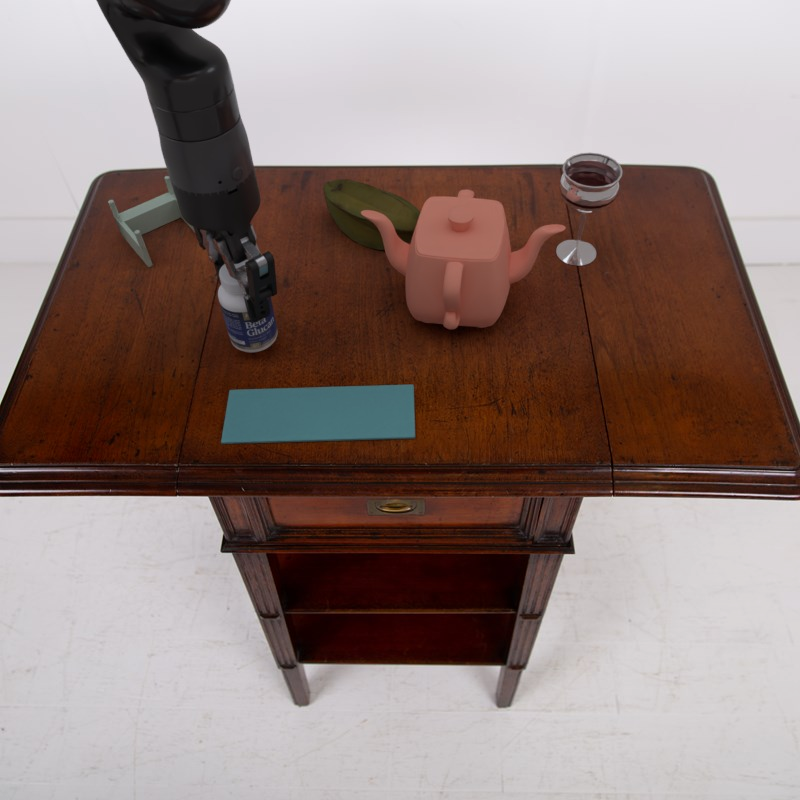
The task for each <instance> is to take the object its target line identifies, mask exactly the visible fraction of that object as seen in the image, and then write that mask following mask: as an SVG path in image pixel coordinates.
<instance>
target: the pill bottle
mask: <svg viewBox="0 0 800 800" xmlns="http://www.w3.org/2000/svg"><path fill="white" fill-rule="evenodd" d="M247 261H248V259H247V260H245V261H243V262H241V263H239V264H234V265H235V267H236V269H237V268H239V267H241V266H243V265H245V262H247ZM219 277H220V281H221V285H220V284H219V287H218V290H217V299H218V303H219V306H220V310H221V314H222V317H223V320H224V323H225V327H226V331H227V334H228V337H229V340H230V342H231V345H232V346H233V347H234V348H236V349H237V350H238V351H241V352H245V353H258V352H262V351H264V350H265V351H266V350H267V349H269V348H270V347H271V346H272V345H273V344H274V343H275V342H276V340H277V338H278V333H279V330H278V326H277V325H278V324H277V319H276V315H275V311H274V306H273V301H272V296H271V297H269V298H267V299H268V304H269V308H270V314H269V316H267V317H266V318H264V319H262V320H260V321H258V322H256V323H254V322H252V321H251V319H250V318H249V316H248V312H247V308H246V305H245V301H244V297H243V294H242V291H241V288H240V286H239V283H238V281H237V280H236V279H234V278H232V277H231V276H230V275H229V272H228V270H227V268H226V265H225V264H224V265H223V266H222V267H221V269H220V271H219ZM245 280H246V282H247V285H248V280H247V276H246V278H245Z"/></svg>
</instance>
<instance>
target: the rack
mask: <svg viewBox="0 0 800 800" xmlns="http://www.w3.org/2000/svg"><path fill="white" fill-rule="evenodd" d="M163 178H164V182H165V185H166V189H167V191H168V192H165V193H163V194H160V195H158V196H156V197H154V198H151V199H149V200H147V201H145V202H142V203H140V204H138V205H135V206H133V207H131V208H129V209H126V210H124V211H121V212H119V210H118V208H117V205H116V203H115V200H114V199H109V200H108V201H107V203H108V205H109V208H110V211H111V212H112V215H113V219H114V221H115V224H116V225H117V228H118V231H119V233H120V235H121V236H122V237H123V238H124V240H125V241H126V243H128V244H129V246H130V247H131V248H132V249H133V251H134V252H135V253H136V255H138V257H139V259H141V261H143V263H144V264H145V265H146V266H147V267H148V268H152V267H153V265H154V264H153V262H152V259H151V257H150V254H149V251H148V249H147V247H146V244H145V240H144V237H143V235H145V234H147V233H149V232H152V231H154V230H156V229H158V228H161V227H164V226H165V225H168V224H169V223H172V222H174V221H177V220H178V219H182V220H183V221H184V223H186V225H187V226H188V227H189V228H190V230H192V231H193V232H194V233H195V230H194V228H193V226H191V225H190V224H188V223H187V222H186V221H185V220H184V218H183V217H182V215H181V212H180V209H179V206H178V203H177V199H176V196H175V193H174V190H173V187H172V184H171V180H170V177H169V175H165V176H164V177H163Z"/></svg>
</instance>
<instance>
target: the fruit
mask: <svg viewBox="0 0 800 800" xmlns="http://www.w3.org/2000/svg"><path fill="white" fill-rule="evenodd" d="M322 191H323V195H324V200H325V203H326V207H327V209H328V212H329V214H330V216H331V218H332V219H333V221H334V222H335V224H336V226H337V227H338V228H339V229H340V231H341V232H342V233H343V234H344V235H345V236H347V237H348V238H349V239H351V240H352V241H354V242H355V243H356V244H358V245H361V246H363V247H366V248H370V249H373V250H378V251H385V248H384V244H383V240H382V236H381V233H380V231H379V229H378V228H377V226H376V225H375V224H374V223H373V222H371V221H370V220H369V219H367V218H365V217H364V216H363V215H362V214H361V211H363V210H372V211H376V212H379V213H382V214H383V215H385V216H386V217H387V218H388V219H389V220H390V221H391V222H392V224H393V226H394V228H395V231H396V233H397V235H398V237H399V238H400V239H401V240H403V241H404V242H406V243H408V244H411V240H412V236H413V233H414V230H415V227H416V224H417V221H418V218H419V215H420V213H421V210H420V209H418V207H416V206H415V205H414V204H413V203H411V202H410V201H408V200H407V199H405V198H404V197H402V196H399V195H398V194H396V193H393V192H390V191H387V190H384V189H381V188H378V187H375V186H373V185H371V184H367V183H364V182H360V181H355V180H352V179H348V178H342V179H341V178H340V179H335V180H332V181H326V182H325V183H324V185H323V187H322Z"/></svg>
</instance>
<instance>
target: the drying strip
mask: <svg viewBox="0 0 800 800" xmlns="http://www.w3.org/2000/svg"><path fill="white" fill-rule="evenodd" d="M415 414H416V413H415V386H414V384H411V383H410V384H385V385H384V384H379V385H377V384H376V385H347V386H346V385H345V386H315V387H314V386H313V387H278V388H277V387H276V388H247V389H246V388H245V389H244V388H243V389H229V392H228V397H227V404H226V409H225V416H224V420H223V421H224V422H223V428H222V433H221V434H222V435H221V440H220V443H221V445H234V444H235V445H236V444H264V443H265V444H269V443H271V444H273V443H299V442H300V443H302V442H305V443H306V442H307V443H308V442H337V441H338V442H339V441H340V442H341V441H343V442H344V441H345V442H346V441H378V440H380V441H381V440H408V439H409V440H410V439H412V440H413V439H416V419H415V418H416V417H415Z"/></svg>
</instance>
